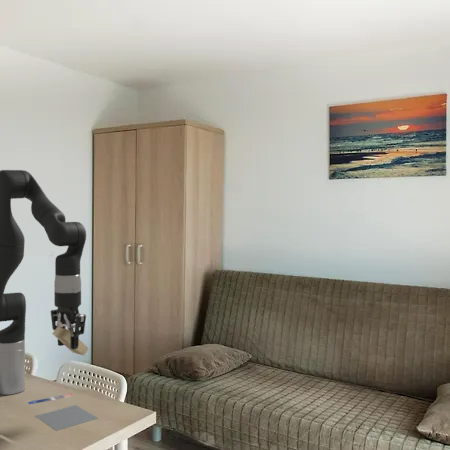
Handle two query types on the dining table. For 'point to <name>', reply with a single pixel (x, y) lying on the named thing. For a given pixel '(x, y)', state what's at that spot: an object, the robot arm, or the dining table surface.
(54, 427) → the mat
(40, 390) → the dining table surface
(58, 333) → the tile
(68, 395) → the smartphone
